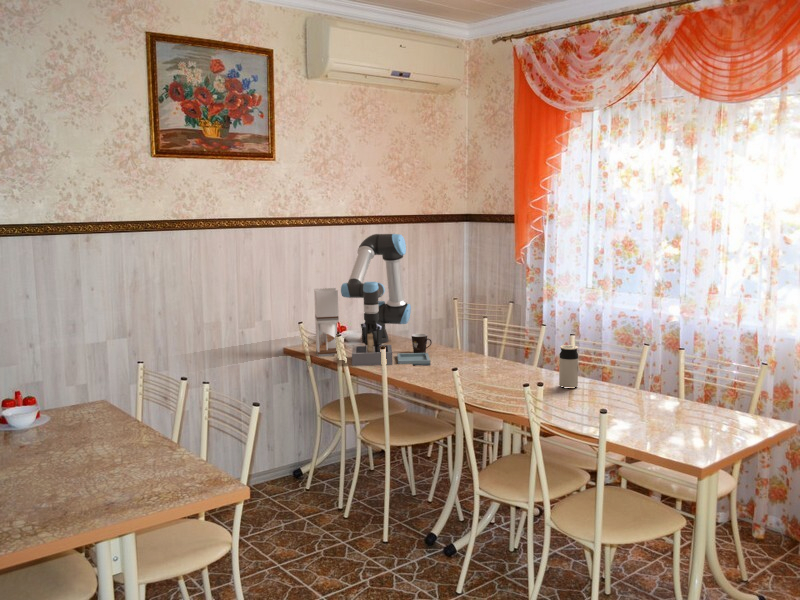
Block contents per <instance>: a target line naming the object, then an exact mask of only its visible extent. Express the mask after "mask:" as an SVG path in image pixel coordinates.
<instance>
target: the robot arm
mask: <svg viewBox="0 0 800 600" xmlns="http://www.w3.org/2000/svg"><path fill="white" fill-rule="evenodd" d="M356 251H357V255H356V260H355V261H354V265H353V268H352V270H351V272H350V276H349V279H348V282H343V283H342V284H341V287H340V294H341V297H343V298H347V299H348V298H349V299H355V298H356V299H363V312H364V313H363V320H364V323H363V322H362V323H360V327H361V343H362V344H363V343H364V345H365V347H366V348H365V349H366V353H368V341H367V334H369V333H372V335H373V341H374V345H373V353H374V352H379V345H383V344H384V343H387V342H389V335H388V332H387V329H386V324H387V325H406V324H408V323H409V321H410V317H411V313H412V306H411V304H410V303H408V299H406V298H405V295H404V294H405V293H404V281H403V269H402V260H403V259H404V256H405V255H406V252H407V246H406V241H405V238H404V236H403V235H402V234H400V233H399V234H398V233H374V234H372V235H369V236H367V237H366V238H365V239H363V240H362V242H361V243H360V245H359V246H358V248H357V250H356ZM375 256H381V257H382V260H383V261H385V269H386V278H387V280H386V281H387V290H388V300H387V302H385V301H384V300H379V298H382V296H384V294H385V292H386V288H385V285H384V284H383V283H381V282H377V281H365V282H364V280H365V277H366V274H367V271H368V269H369V266H370V263H371V260H372V259H373V258H374V257H375Z"/></svg>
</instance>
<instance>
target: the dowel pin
mask: <svg viewBox="0 0 800 600" xmlns="http://www.w3.org/2000/svg"><path fill="white" fill-rule="evenodd" d="M367 341H368V353H373V345H374V341H373V335H372V333H369V334H367Z"/></svg>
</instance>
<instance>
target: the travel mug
mask: <svg viewBox="0 0 800 600" xmlns="http://www.w3.org/2000/svg"><path fill="white" fill-rule="evenodd" d="M578 348H579V347H578V346H576V345H572V344H571V345H570V344H568V345H567V344H566V345H565V344H564V345H560V353H559V364H558V365H559V369H558V370H559V371H558V373H559V374H558V375H559V376H558V380H559V382H558V386H559V385H560V386H563V387H577V386H578V387H579V353H578ZM560 386H559V387H560ZM578 387H577V388H578Z"/></svg>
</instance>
